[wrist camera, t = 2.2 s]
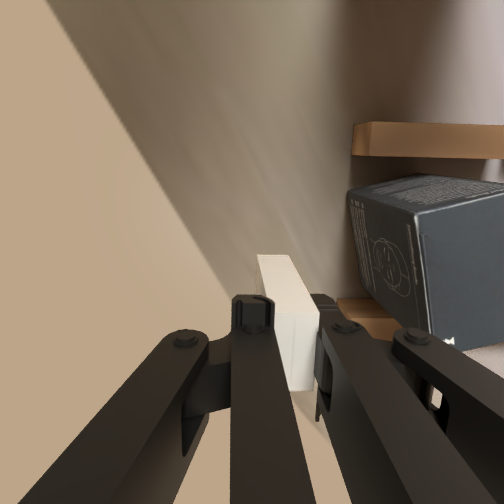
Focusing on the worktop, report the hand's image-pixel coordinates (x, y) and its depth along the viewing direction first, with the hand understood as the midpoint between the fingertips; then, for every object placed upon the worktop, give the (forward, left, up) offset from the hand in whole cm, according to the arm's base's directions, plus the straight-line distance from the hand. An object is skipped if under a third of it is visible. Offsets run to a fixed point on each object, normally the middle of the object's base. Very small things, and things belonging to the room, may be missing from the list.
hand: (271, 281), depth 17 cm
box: (0, +10, -10) cm, 14 cm away
